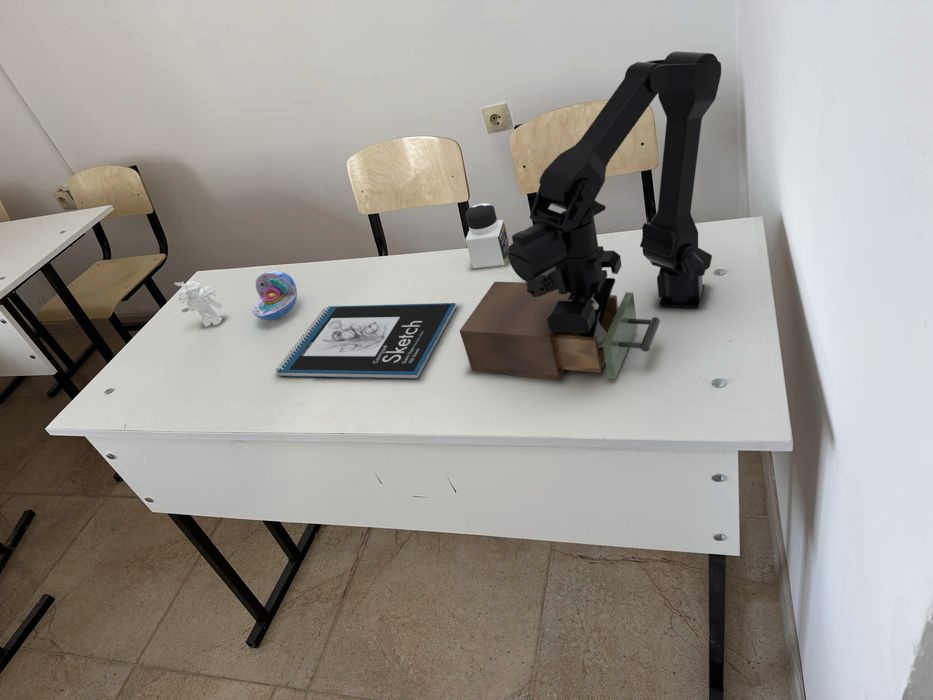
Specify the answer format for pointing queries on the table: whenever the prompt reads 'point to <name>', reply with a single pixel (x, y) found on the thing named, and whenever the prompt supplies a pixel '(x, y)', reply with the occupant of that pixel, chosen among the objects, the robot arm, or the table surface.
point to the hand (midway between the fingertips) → (593, 334)
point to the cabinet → (512, 332)
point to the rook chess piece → (599, 329)
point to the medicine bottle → (486, 237)
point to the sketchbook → (369, 341)
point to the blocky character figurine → (200, 301)
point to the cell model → (274, 295)
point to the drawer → (605, 340)
